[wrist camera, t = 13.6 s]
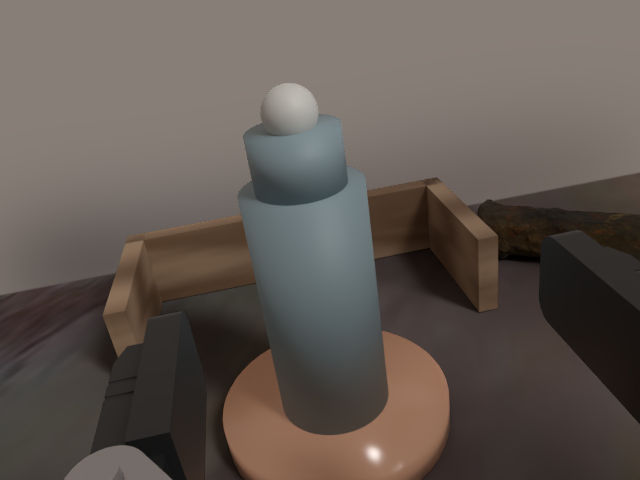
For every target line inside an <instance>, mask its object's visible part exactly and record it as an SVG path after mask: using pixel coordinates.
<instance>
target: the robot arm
mask: <svg viewBox="0 0 640 480" xmlns="http://www.w3.org/2000/svg"><path fill="white" fill-rule="evenodd" d="M539 301H540V306H541V309H542V312H543V315H544V317H545V319H546V320H547V322H548V323H549V324H550V325H551V326H552V327H553V329H554V330H555V331H556V332H557V333H558V334H559V335H560V336H561V337H562V338H563V340H564V341H565V342H566V343H567V344H568V345H569V346H570V347H571V348H572V350H573V351H574V352H575V353H576V354H577V355H578V356H579V357H580V358H581V359H582V361H583V362H584V363H585V364H586V365H587V366H588V367H589V368H590V369H591V371H592V372H593V373H594V374H595V375H596V376H597V377H598V378H599V379H600V381H601V382H602V383H603V384H604V385H605V386H606V387H607V388H608V389H609V390H610V392H611V393H612V394H613V395H614V396H615V397H616V398H617V399H618V400H619V402H620V403H621V404H622V405H623V406H624V407H625V408H626V409H627V410H628V411H629V413H630V414H631V415H632V416H633V417H634V418H635V419H636V420H637V421H638V423H639V424H640V261H638V260H637V259H636V258H634V257H633V256H632V255H629V254H626V253H624V252H621V251H618V250H616V249H613V248H611V247H608V246H607V247H603V246H602V245H600V244H599V243H598V242H596V241H595V240H594V239H592V238H591V237H590V236H588V235H587V234H586V233H584V232H583V231H580V230H576V231H571V232H566V233H561V234H557V235H552V236H547V237H545V238H544V239H543V241H542V244H541V259H540V283H539ZM206 401H207V394H206V383H205V377H204V372H203V368H202V365H201V361H200V358H199V355H198V351H197V348H196V345H195V341H194V338H193V335H192V331H191V328H190V325H189V321H188V318H187V316H186V313H185V312H184V311H180V312H175V313H170V314H165V315H160V316H156V317H151V318H148V321H147V326H146V331H145V336H144V342H143V343H140V344H136V345H131V346H127V347H126V348H125V350H124V351H123V352H122V353H121V355H120V356H119V357H118V359H117V360H116V361H115V362H114V364H113V367H112V371H111V374H110V378H109V386H107V390H106V394H105V401H104V402H103V406H102V410H101V414H100V418H99V422H98V426H97V430H96V434H95V437H94V441H93V445H92V449H91V453H90V455H89V456H88V457H86V458H84V459H83V460H82V461H81V462H79V463H78V464H77V465H76V466H75V467H74V468H73V469H72V470H71V471H70V472H69V473H68V475H67V476H66V478H65V479H64V480H205V444H206Z"/></svg>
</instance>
